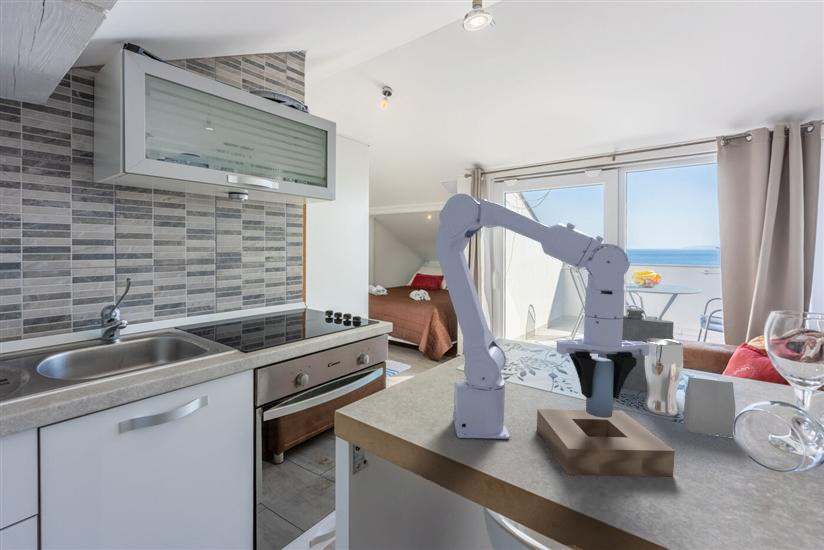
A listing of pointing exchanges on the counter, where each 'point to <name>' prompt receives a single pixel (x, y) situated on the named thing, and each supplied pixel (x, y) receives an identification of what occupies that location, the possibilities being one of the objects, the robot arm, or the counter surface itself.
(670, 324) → the hip flask
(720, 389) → the grey angular block
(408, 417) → the counter surface
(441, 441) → the counter surface
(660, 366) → the silver metal tumbler
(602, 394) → the peg
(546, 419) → the socket board
